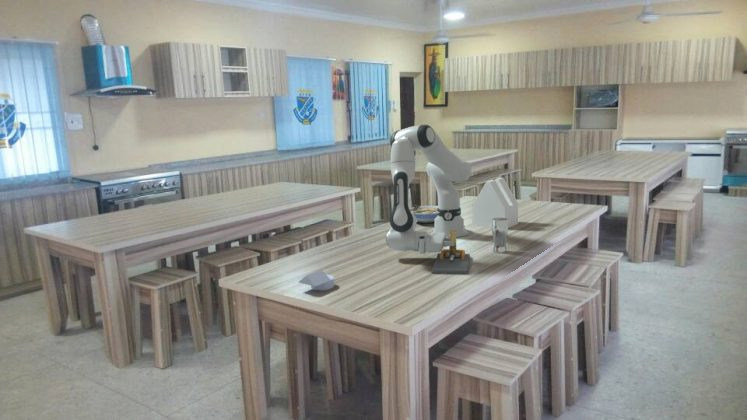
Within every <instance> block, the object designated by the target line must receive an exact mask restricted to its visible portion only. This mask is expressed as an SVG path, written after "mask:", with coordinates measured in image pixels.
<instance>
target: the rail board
mask: <svg viewBox="0 0 747 420" xmlns="http://www.w3.org/2000/svg"><path fill="white" fill-rule="evenodd" d="M446 252H449V248H448V249H444V248H443V250H442V251H441V252H437V254H436V258H435V260H434V264H433V266H432V269H431V274H442V273H452V274H455V275H468V273H467V272H468V271H469V265H470V260H471V254H470V253H466V250H464V249H456V252H460V257H454V259H453V261H450V257H446ZM452 274H451V275H452Z"/></svg>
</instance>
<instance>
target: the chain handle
mask: <svg viewBox="0 0 747 420" xmlns="http://www.w3.org/2000/svg"><path fill="white" fill-rule="evenodd" d="M449 241H454V242H455V245H454V246H448V247H449V248H448V249H449V252H446V257H450V261H453V259H454V257H460V252H456V250H457V237H456V231H455V230H450V231H449Z"/></svg>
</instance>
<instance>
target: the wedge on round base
mask: <svg viewBox="0 0 747 420" xmlns="http://www.w3.org/2000/svg"><path fill="white" fill-rule="evenodd" d="M298 283H299V284H304V285H307V286H310V288H311V290H314V291H328V290H331V289H333V288H335V276H334V275H331V274H327V273H326V272H324V271H323V270H322V269H319V270H317V271H315V272H313V273H310V274H307V275H305V276H304V277H303V278H301V279H300V280H299V281H298Z"/></svg>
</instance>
